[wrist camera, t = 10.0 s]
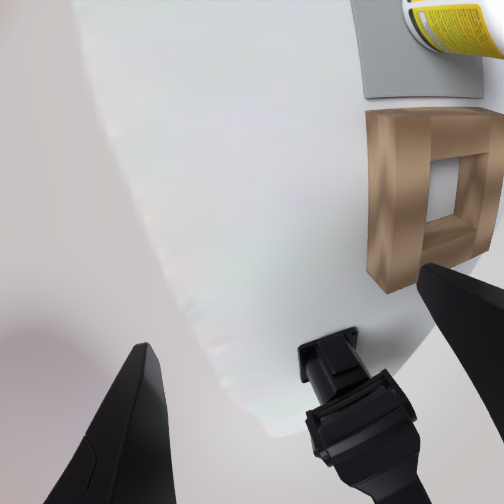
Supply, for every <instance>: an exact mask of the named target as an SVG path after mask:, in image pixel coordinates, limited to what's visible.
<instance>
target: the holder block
mask: <svg viewBox="0 0 504 504" xmlns="http://www.w3.org/2000/svg"><path fill="white" fill-rule="evenodd" d="M365 113H366V127H367V146H368V178H369V216H368V249H367V268H366V271H367V273H368V274H369V275H370V276H371V277H372V278H373V279H374V281H375V282H376V283H377V284H378V285H379V286H380V287H381V289H382V290H383V291H384V292H385V293H386V294H389V293H392V292H394V291H397V290H399V289H402V288H404V287H407V286H409V285H412V284H414V283H417V280H418V275H419V270H420V267H421V266H422V265H424V264H427V263H430V262H431V263H435V264H437V265H440V266H443V267H446V268H448V269H449V268H452V267H454V266H456V265H458V264H460V263H463V262H465V261H467V260H469V259H471V258H473V257H476V256H478V255H480V254H482V253H484V252H486V251H488V250H489V247H490V243H491V239H492V235H493V231H494V226H495V222H496V217H497V212H498V207H499V201H500V196H501V190H502V183H503V176H504V115H503V114H500V113H497V112H494V111H491V110H487V109H484V108H480V107H421V108H399V109H384V110H371V111H365ZM453 157H460V164H459V176H458V186H457V195H456V202H455V210H454V214H453V215H450V216H447V217H444V218H441V219H438V220H434V221H431V222H428V223H425V222H426V213H427V203H428V192H429V178H430V161H435V160H441V159H447V158H453Z"/></svg>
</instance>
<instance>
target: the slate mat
mask: <svg viewBox="0 0 504 504" xmlns="http://www.w3.org/2000/svg"><path fill="white" fill-rule="evenodd" d="M350 1H351V6H352V12H353V17H354V23H355V29H356V35H357V42H358V48H359V56H360V63H361V71H362V80H363V90H364V98H376V97H399V96H450V97H472V98H484V89H483V68H482V56H476V55H466V54H455V53H443V52H436V51H433V50H430V49H428V48H427V47H425V46H424V45H422V44H421V43H420V42H419V41H418V40H417V39H416V38H415V37H414V35H413V34H412V33H411V31H410V30H409V28H408V26H407V24H406V21H405V19H404V15H403V10H402V0H350Z"/></svg>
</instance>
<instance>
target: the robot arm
mask: <svg viewBox="0 0 504 504" xmlns="http://www.w3.org/2000/svg"><path fill="white" fill-rule="evenodd" d="M417 290H418V292H419V294H420V296H421V297H422V299H423V301H424V303H425V305H426V306H427V308H428V310H429V312H430V314H431V316H432V317H433V319H434V321H435V323H436V325H437V326H438V328H439V329H440V331H441V332H442V334H443V335H444V337H445V339H446V340H447V342H448V343H449V345H450V346H451V348H452V349H453V351H454V353H455V354H456V356H457V357H458V359H459V361H460V362H461V364H462V366H463V367H464V369H465V371H466V372H467V374H468V376H469V378H470V379H471V381H472V383H473V385H474V386H475V388H476V390H477V392H478V393H479V395H480V397H481V399H482V401H483V402H484V404H485V406H486V408H487V410H488V412H489V414H490V416H491V418H492V420H493V422H494V424H495V426H496V428H497V430H498V432H499V434H500V436H501V438H502V440H503V442H504V289H501V288H499V287H496V286H493V285H491V284H488V283H486V282H483V281H481V280H478V279H475V278H472V277H470V276H467V275H465V274H462V273H459V272H457V271H454V270H451V269H448V268H446V267H443V266H440V265H437V264H435V263H431V262H430V263H427V264H424V265H422V266H421V267H420V270H419V275H418V280H417ZM357 336H358V331H357V329H356V328H350V329H348V330H345V331H342V332H339V333H337V334H334V335H331V336H328V337H325V338H323V339H320V340H317V341H314V342H311V343H308V344H305V345H302V346H300V347H299V348H298V359H299V369H300V379H301V382H302V383H307V382H310V383H311V385H312V387H313V389H314V392H315V394H316V396H317V398H318V401H319V403H320V405H321V406H319V407H317V408H315V409H313V410H309V411H307V412H306V415H307V419H306V420H305V422H306V425H307V427H308V430H309V432H310V436H311V442H312V448H313V453H314V455H315V457H318V458H321V459H322V460H323V461H324V462H325V463H326V465H327V466H328V467H331V466H334V467H335V469H336V471H337V473H338V475H339V477H340V479H341V480H342V481H343V482H344V483H346V484H347V485H349V486H350V487H354V488H356V489H358V490H359V491H361V492H363V493H365V494H367V495H369V496H371V497H372V499H373V501H374V503H375V504H432V503H431V501H430V499H429V497H428V495H427V493H426V491H425V489H424V487H423V485H422V483H421V481H420V479H419V477H418V475H417V465H418V456H419V452H420V436H419V434H418V432H417V430H416V428H415V426H414V424H413V422H415V421H416V420H417V417H416V414H415V411H414V409H413V407H412V405H411V403H410V401H409V400H408V398H407V397H406V395H405V394H404V392H403V391H402V390H401V388H400V387H399V386H398V384H397V383H396V382H395V380H394V379H393V378H392V376H391V375H390V374H389V372H388V371H387V370H386V369H384V370H382V371H381V373H379V374H377V375H376V376H374V377H371V375H370V373H369V372H368V370H367V368H366V367H365V365H364V363H363V362H362V360H361V358H360V357H359V355H358V354H357V352H356V344H357ZM85 434H86V436H84V437H83V439H82V441H81V443H80V445H79V447H78V448H77V450H76V452H75V454H74V455H73V457H72V459H71V461H70V462H69V464H68V466H67V467H66V469H65V470H64V472H63V474H62V475H61V477H60V478H59V480H58V481H57V483H56V484H55V486H54V488H53V489H52V491H51V492H50V494H49V495H48V497H47V499H46V500H45V501H44V503H43V504H176V496H175V489H174V480H173V471H172V462H171V450H170V438H169V425H168V412H167V405H166V399H165V393H164V388H163V382H162V375H161V368H160V363H159V361H158V358H157V357H156V355H155V353H154V351H153V349H152V347H151V346H150V344H149V343H147V342H144V343H140V344H136V345H135V346H134V347H133V349H132V350H131V352H130V354H129V356H128V357H127V359H126V361H125V363H124V364H123V366H122V368H121V369H120V371H119V373H118V375H117V376H116V378H115V380H114V382H113V384H112V385H111V387H110V389H109V391H108V393H107V394H106V396H105V398H104V400H103V402H102V403H101V405H100V407H99V409H98V411H97V413H96V414H95V416H94V418H93V420H92V422H91V424H90V426H89V427H88V429H87V431H86V433H85Z"/></svg>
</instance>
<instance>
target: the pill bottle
mask: <svg viewBox="0 0 504 504" xmlns="http://www.w3.org/2000/svg"><path fill="white" fill-rule="evenodd" d="M402 10H403V15H404V19H405V21H406V24H407V26H408V28H409V30H410V31H411V33H412V34H413V35H414V37H415V38H416V39H417V40H418V41H419V42H420V43H421V44H422V45H424V46H425V47H427V48H428V49H430V50H433V51H436V52H443V53H455V54H466V55H476V56H484V57H491V58H498V59H504V0H402Z"/></svg>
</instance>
